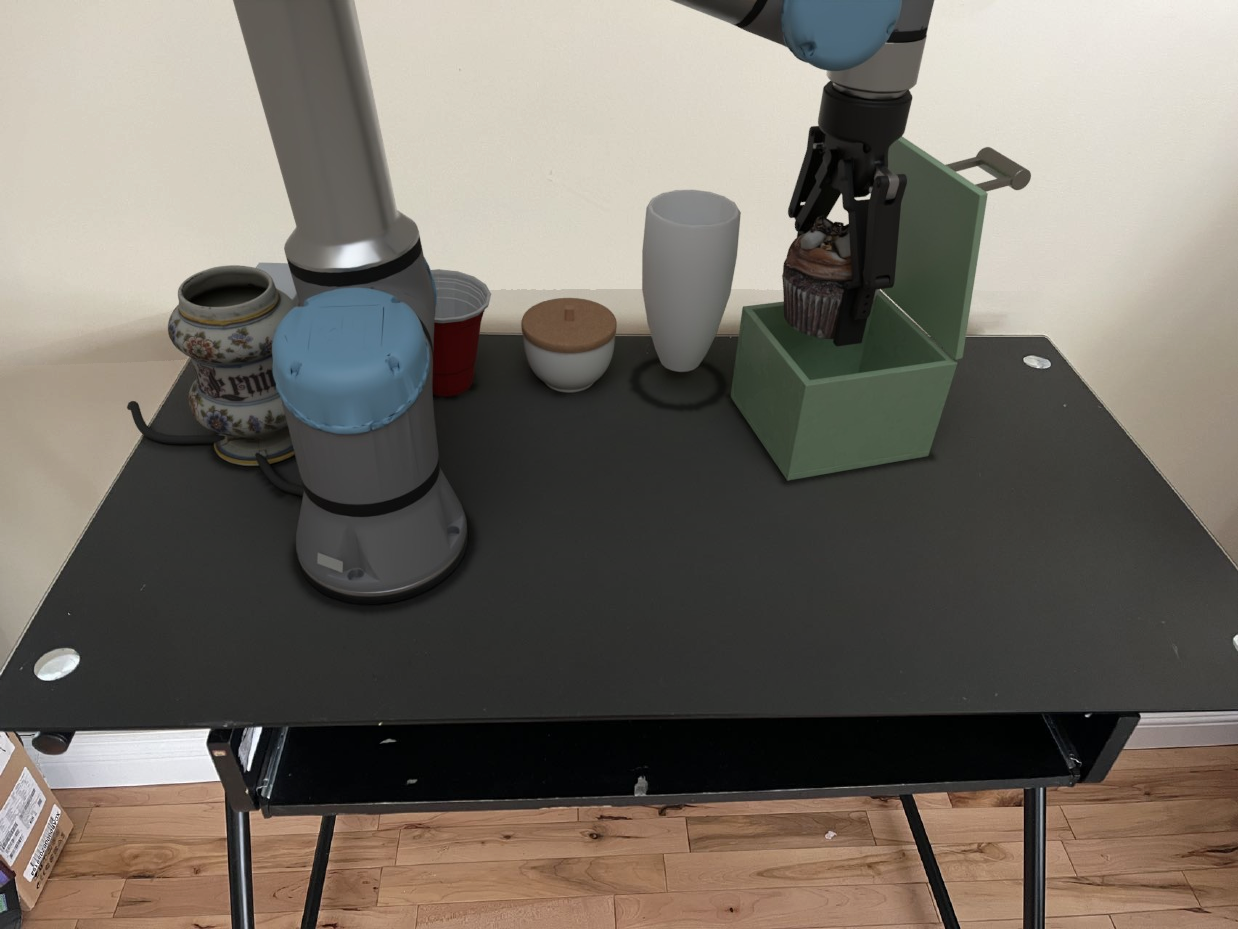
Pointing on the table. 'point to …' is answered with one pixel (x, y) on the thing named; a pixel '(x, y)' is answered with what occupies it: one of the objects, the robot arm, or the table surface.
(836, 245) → the cupcake
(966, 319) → the green box lid
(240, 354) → the apothecary jar
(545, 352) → the white bowl with lid
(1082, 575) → the table surface
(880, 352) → the green open box
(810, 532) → the table surface
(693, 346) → the cup
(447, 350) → the plastic cup
